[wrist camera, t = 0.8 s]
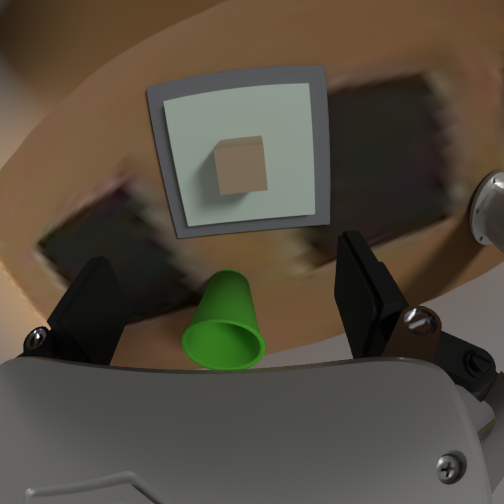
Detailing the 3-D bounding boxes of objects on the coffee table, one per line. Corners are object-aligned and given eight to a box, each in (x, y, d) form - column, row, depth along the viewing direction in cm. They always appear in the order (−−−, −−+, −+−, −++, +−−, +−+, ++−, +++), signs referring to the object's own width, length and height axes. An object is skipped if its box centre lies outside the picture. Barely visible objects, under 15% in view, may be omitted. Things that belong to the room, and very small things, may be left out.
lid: (306, 83, 23) (321, 81, 18) (312, 209, 30) (325, 236, 25) (166, 100, 24) (145, 103, 19) (190, 221, 31) (178, 250, 26)
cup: (226, 317, 40) (220, 379, 31) (182, 278, 37) (163, 341, 27) (276, 289, 37) (282, 354, 28) (233, 243, 34) (226, 306, 24)
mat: (322, 66, 22) (324, 65, 22) (328, 221, 32) (329, 224, 31) (148, 87, 23) (146, 87, 23) (179, 235, 33) (178, 238, 32)
